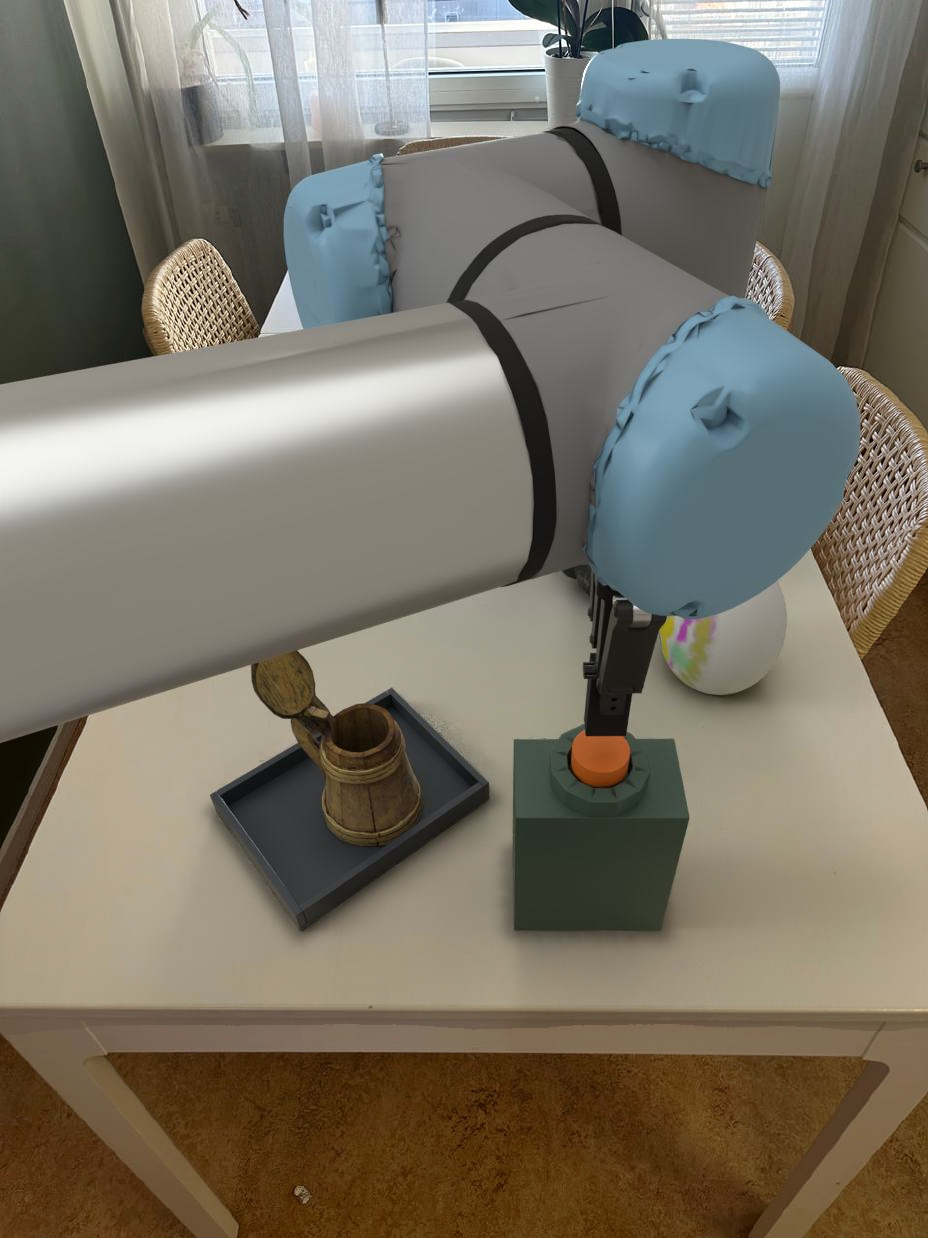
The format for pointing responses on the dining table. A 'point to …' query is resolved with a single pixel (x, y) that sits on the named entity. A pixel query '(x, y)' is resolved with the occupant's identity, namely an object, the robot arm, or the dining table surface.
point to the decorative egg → (727, 644)
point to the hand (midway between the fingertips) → (604, 727)
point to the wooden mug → (346, 754)
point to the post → (595, 838)
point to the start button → (600, 759)
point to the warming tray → (298, 833)
